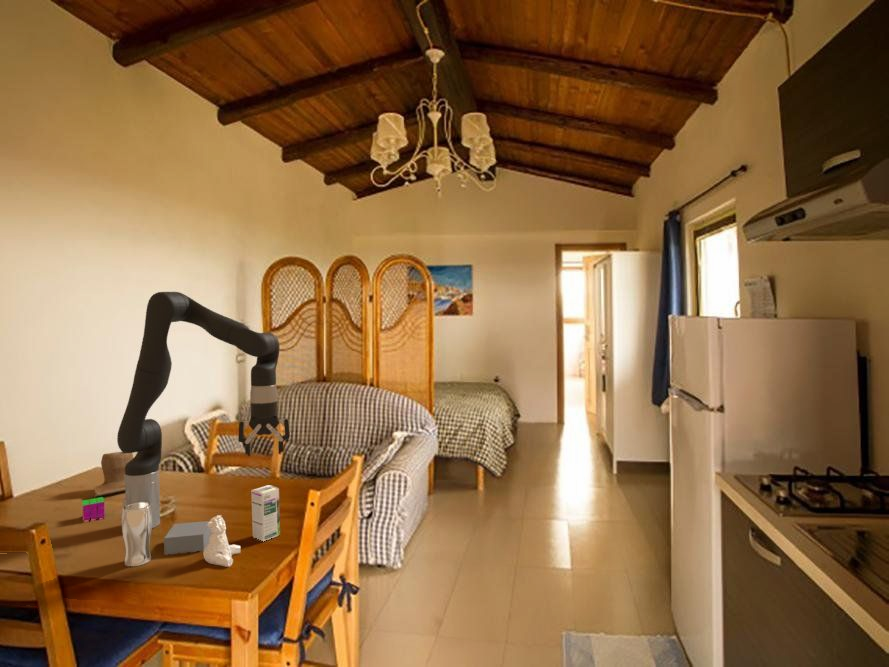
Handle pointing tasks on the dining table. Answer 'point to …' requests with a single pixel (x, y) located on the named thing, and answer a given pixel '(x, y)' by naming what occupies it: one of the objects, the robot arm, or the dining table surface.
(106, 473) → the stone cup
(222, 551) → the white creature statuette
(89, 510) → the puzzle toy
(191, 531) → the grey block
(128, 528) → the beer glass
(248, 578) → the dining table surface
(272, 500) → the syrup box
